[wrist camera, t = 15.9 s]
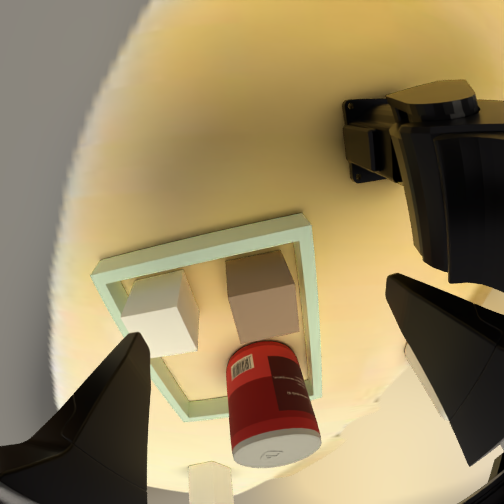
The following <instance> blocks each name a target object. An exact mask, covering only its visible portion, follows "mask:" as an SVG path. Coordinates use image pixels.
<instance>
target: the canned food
mask: <svg viewBox="0 0 504 504" xmlns="http://www.w3.org/2000/svg"><path fill="white" fill-rule="evenodd" d="M226 379H227V395H228V410H229V423H230V436H231V445H232V453H233V458H234V461H235V462H236V463H238V464H240V465H243V466H247V467H252V468H270V467H278V466H283V465H288V464H291V463H294V462H297V461H300V460H302V459H304V458H306V457H308V456H310V455H311V454H313V453H314V452H315V451H317V450H318V449H319V447H320V446H321V436H320V432H319V429H318V424H317V421H316V418H315V415H314V411H313V408H312V405H311V401H310V398H309V395H308V392H307V389H306V385H305V382H304V379H303V376H302V372H301V369H300V366H299V363H298V360H297V357H296V356H295V354H294V353H293V352H292V350H291V349H290V348H289V347H287V346H286V345H284V344H281V343H278V342H272V341H263V342H256V343H253V344H249V345H247V346H245V347H243V348H241V349H240V350H238V351H237V352H236V353H235V354H234V355H233V356H232V357H231V359H230V361H229V363H228V366H227V370H226Z"/></svg>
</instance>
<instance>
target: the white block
mask: <svg viewBox="0 0 504 504" xmlns="http://www.w3.org/2000/svg"><path fill="white" fill-rule="evenodd" d="M199 312H200V311H199V309H198V306H197V304H196V301H195V299H194V296H193V294H192V291H191V289H190V286H189V283H188V281H187V278H186V276H185V273H184V270H179V271H175V272H171V273H167V274H162V275H158V276H154V277H150V278H145V279H141V280H137V281H135V282H134V284H133V287H132V289H131V292H130V294H129V297H128V299H127V302H126V304H125V307H124V309H123V312H122V314H121V317H120V318H121V320H122V322H123V323H124V325H125V327H126V328H127V330H128V332H129V333H132V332H140V333H141V335H142V336H143V338H144V340H145V342H146V343H147V345H148V347H149V349H150V358H156V357H163V356H170V355H176V354H183V353H189V352H194V351H198V329H199Z"/></svg>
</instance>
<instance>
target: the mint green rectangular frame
mask: <svg viewBox="0 0 504 504" xmlns="http://www.w3.org/2000/svg"><path fill="white" fill-rule="evenodd" d="M291 242H293V243H294V251H295V258H296V266H297V273H298V281H299V290H300V298H301V307H302V316H303V325H304V335H305V345H306V355H307V366H308V378H309V379H308V380H305V381H304V382H305V385H306V389H307V392H308V395H309V398H310V400H314V399H318V398H321V397H322V367H321V341H320V321H319V305H318V290H317V277H316V266H315V255H314V244H313V235H312V225H311V224H310V222H309V221H308V220H307V219H306V217H305V216H304V215H303V214H302V213H299V214H294V215H290V216H285V217H280V218H275V219H271V220H266V221H262V222H257V223H252V224H248V225H243V226H239V227H234V228H230V229H226V230H221V231H217V232H212V233H208V234H204V235H200V236H195V237H191V238H187V239H183V240H179V241H174V242H170V243H166V244H162V245H158V246H154V247H150V248H146V249H142V250H138V251H134V252H130V253H126V254H122V255H118V256H114V257H111V258H107V259H103V260H100V261H99V263H98V264H97V266H96V267H95V269H94V271H93V272H92V274H91V275H90V276H91V278H92V281H93V283H94V285H95V286H96V288H97V290H98V292H99V294H100V296H101V298H102V300H103V302H104V304H105V306H106V307H107V309H108V311H109V313H110V315H111V316H112V318H113V320H114V322H115V323H116V325H117V327H118V328H119V330H120V332H121V333H122V335H123V337H124V338H125V336H126V335H127V334H128V333H129V332H128V330H127V328H126V327H125V325H124V323H123V322H122V320H121V318H120V317H121V314H122V312H123V309H124V307H125V304H126V302H127V299H128V296H127V294H126V292H125V290H124V287H123V285H122V283H121V280H126V279H130V278H135V277H139V276H144V275H148V274H152V273H157V272H161V271H166V270H170V269H175V268H179V267H184V266H188V265H193V264H197V263H202V262H206V261H211V260H215V259H220V258H224V257H229V256H233V255H238V254H242V253H247V252H251V251H256V250H260V249H264V248H269V247H273V246H278V245H282V244H287V243H291ZM150 375H151V380H152V381H153V382H154V384H155V385H156V387H157V388H158V389H159V391H160V392H161V393H162V395H163V396H164V398H165V399H166V400H167V401H168V403H169V404H170V405H171V407H172V408H173V409H174V411H175V412H176V413H177V414H178V416H179V417H180V418H181V419H182V421H183V422H192V421H202V420H211V419H219V418H226V417H229V410H228V396H227V397H221V398H214V399H207V400H199V401H191V402H189V401H188V399H187V398H186V396H185V395H184V393H183V392H182V390H181V389H180V387H179V386H178V384H177V383H176V381H175V380H174V378H173V376H172V375H171V373H170V372H169V370H168V368H167V367H166V365H165V363H164V362H163V360H162V358H161V357H156V358H150Z"/></svg>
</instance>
